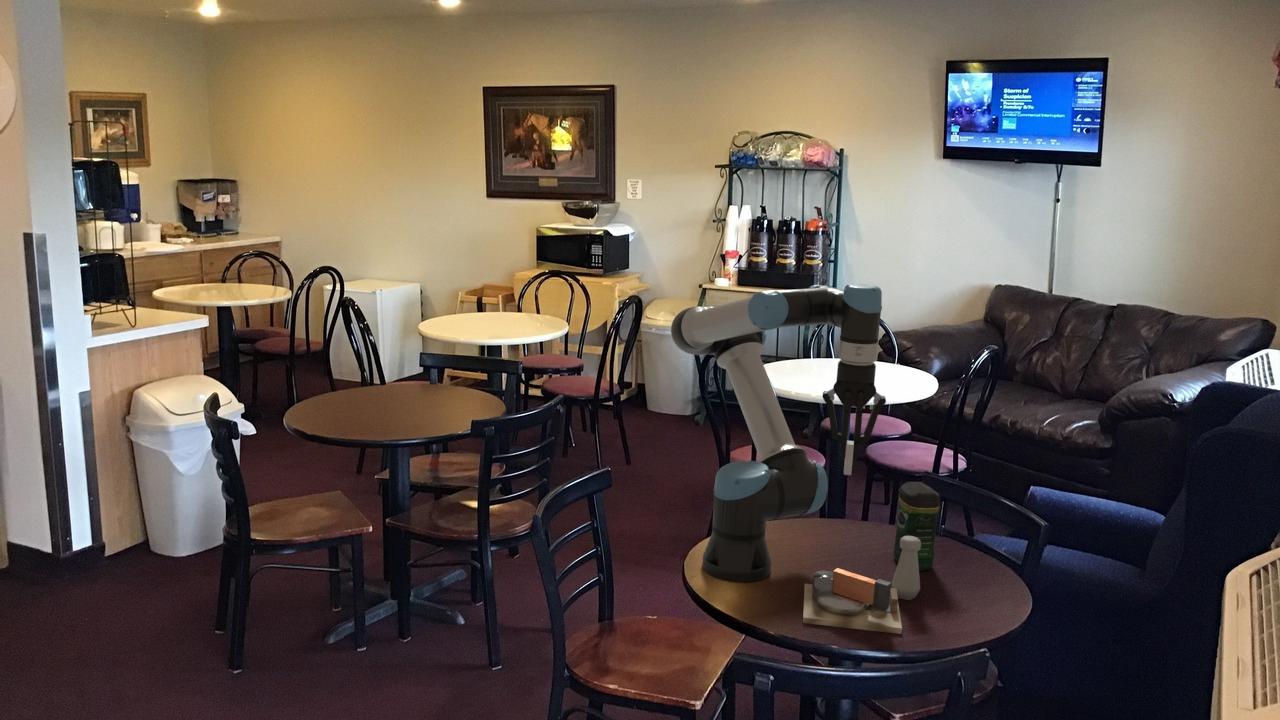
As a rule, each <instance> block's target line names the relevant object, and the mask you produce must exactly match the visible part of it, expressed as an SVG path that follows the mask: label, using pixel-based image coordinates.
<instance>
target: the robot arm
mask: <svg viewBox="0 0 1280 720" xmlns="http://www.w3.org/2000/svg"><path fill="white" fill-rule="evenodd" d="M882 296H883V294H882V289H881V288H880V287H879V286H877V285H875V284H867V283H849V284H846V285H845V286H844V289H839V288H835V287H832V286H830V285H826V284H825V285H820V284H814V285H811V286H809V287H808V288H796V289H767V290H761V291H757V292H755V293H753V294H752V296H751V297H747V298H742V299H739V300H735V301H731V302H727V303H723V304H720V305H718V304H717V305H704V306H703V305H698V306H697V305H696V306H692V307H691V306H690V307H688V308H685V309H682V310H681V311H680V312H678V313H677V314H676V316H674V318H673V320H672V322H671V326H670V327H671V328H670V333H671V338H672V341H673V342H674V344H675V345H676V347H677V348H678V349H679V350H681V351H683V352H685V353H687V354H690V355H693V356H706V355H707V356H708V355H710V356H712V355H713V356H714V358H715V362H716V364H717V367H720V368H721V369H724V370H726V372H727V375H728V378H729V380H730V383H731V386H732V388H733V390H734V395H735V396H736V399H737V402H738V404H739V406H740V409H741V412H742V415H743V417H744V420H745V423H746V425H747V428H748V430H749V433H750V436H751V438H752V441H753V443H754V447H755V449H756V451H757V454H758V457H759V460H758V461H757V460H748V461H746V460H739V461H737V460H736V461H733V462H729V463H726V464H725V465H723V466H721V467H720V468H719V469H718V470H717V472H716V474H715V481H714V486H713V511H712V512H713V513H712V527H711V528H712V530H711V533H710V534H711V535H710V537H709V540H708V542H707V544H706V547H705V550H704V552H703V554H702V563H701V564H702V569H703V570H704V572H706V573H707V575H710V576H711V577H714V578H716V579H719V580H722V581H727V582H735V583H749V582H750V583H751V582H757V581H761V580H763V579H766V578H767V577H768V576H769V575H770V574H771V571H772V558H771V554H770V550H769V547H768V543H767V539H766V530H767V529H766V527H767V522H768V521H774V520H779V519H780V520H781V519H785V518H792V517H796V516H799V517H801V516H805V515H807V514H811V513H814V512H818V511H819V510H820V509H821V507H822V506H823V505H824V503H825V501H826V499H827V493H828V490H829V489H828V477H827V474H826V470H825V468H824V467H823V466H822V464H821V463H819V462H818V461H816V460H813V459H809V458H808V455H807V453H806V451H805V449H804V448H803V447H800V446H799V445H796V444H795V441H794V439H793V436H792V433H791V431H790V428H789V426H788V424H787V421H786V419H785V416H784V413H783V411H782V408H781V406H780V403H779V400H778V398H777V396H776V393H775V391H774V388H773V386H772V383H771V381H770V379H769V376H768V375H769V374H768V373H767V371H766V367H765V366H764V363H763V360H762V358H761V355H762V353H763V351H764V345H765V343H766V339H767V333H766V331H769V330H775V329H780V328H787V327H789V328H790V327H800V326H801V327H802V326H804V327H805V326H816V325H829V326H833V327H837V328H840V335H839V344H838V346H839V347H838V358H839V361H838V362H837V371H836V381H835V383H834V384H833V388H830V389H829V390H827V391H826V390H824V391H823V392H822V399H823V401H824V402H825V404H826V408H827V414H828V419H829V426H830V431H831V437H832V439H833V440H837V441H838V442H839V445H840V446H839V457H840V458H843V459H844V465H843V475H844V476H852V470H853V462H854V461H853V460H858V458H859V456H860V455H859V454H860V446H861V444H863V443H868V442H869V441H870V439H871V436H872V433H873V430H874V429H875V428H874V427H875V425H876V422H877V420H878V417H879V413H880V411H881V409H882V408H883V407H884V405H886V402H887V399H886V396H885V395H881V394H880V393H879V392H877V388H876V386H875V385H876V384H875V382H876V381H875V378H876V369H877V368H876V367H877V365H876V364H875V362H876V361H877V358H878V347H879V346H878V345H879V335H880V325H881V314H882V310H883V306H882V304H883V303H882V300H883V299H882V298H883V297H882ZM835 396H837V398H838V400H839V401H840V403H841V404H842V405H843V410H842V423H841V432H839V429H838V423H837V418H836V411H835V405H834V401H835ZM872 398H873V400H872ZM871 400H872V401H873V405H872V409H871V411H870V414H869V417H868V421H867V423H866V426H865V428H864V432H863V434H861V433H862V420H863V412H864V411H863V409H864V407H865V406H866V405H867V404H868V403H869V402H870V401H871ZM851 407H855V408H856V409H855V419H854V432H853V440H848V432H849V421H850V412H851Z"/></svg>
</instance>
